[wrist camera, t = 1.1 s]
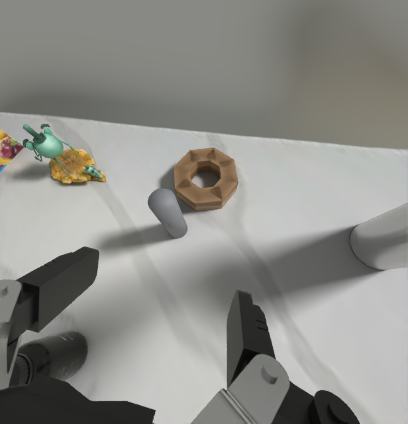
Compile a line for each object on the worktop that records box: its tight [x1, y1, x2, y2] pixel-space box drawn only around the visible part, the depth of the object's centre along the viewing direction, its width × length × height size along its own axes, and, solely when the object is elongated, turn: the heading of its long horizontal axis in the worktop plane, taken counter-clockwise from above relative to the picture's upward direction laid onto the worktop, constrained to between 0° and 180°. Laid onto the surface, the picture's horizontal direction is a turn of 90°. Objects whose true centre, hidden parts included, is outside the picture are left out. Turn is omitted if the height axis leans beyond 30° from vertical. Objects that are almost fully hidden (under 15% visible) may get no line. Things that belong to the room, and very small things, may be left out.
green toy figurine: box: [23, 124, 106, 183], centre depth 43 cm, size 10×18×15 cm, turn 52°
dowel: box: [148, 188, 187, 238], centre depth 35 cm, size 4×4×14 cm
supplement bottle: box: [8, 331, 87, 388], centre depth 29 cm, size 7×7×12 cm
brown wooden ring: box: [174, 148, 238, 211], centre depth 43 cm, size 13×13×4 cm
